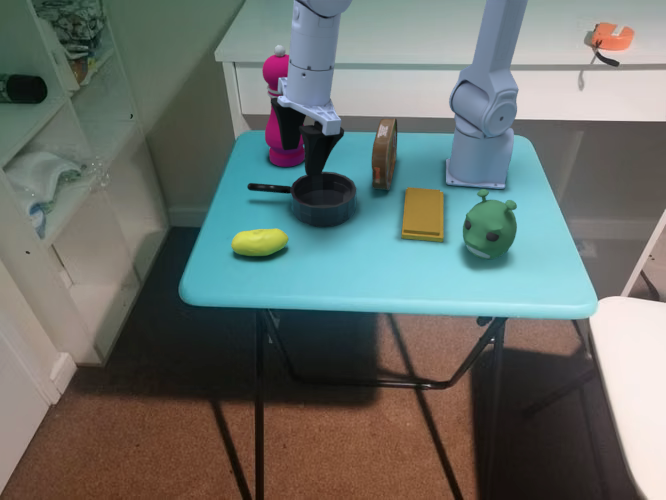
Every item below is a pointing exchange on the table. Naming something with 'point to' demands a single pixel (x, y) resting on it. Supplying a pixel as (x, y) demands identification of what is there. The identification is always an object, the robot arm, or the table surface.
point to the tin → (384, 154)
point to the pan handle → (269, 188)
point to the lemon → (259, 242)
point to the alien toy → (490, 227)
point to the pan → (323, 199)
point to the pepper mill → (271, 73)
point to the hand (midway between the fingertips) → (301, 160)
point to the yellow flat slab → (423, 215)
